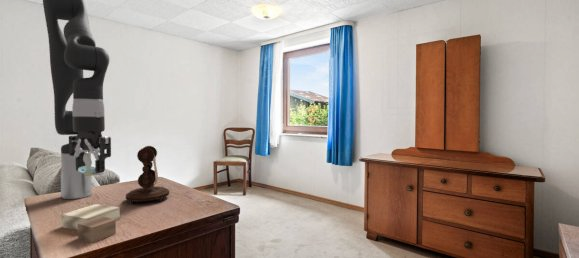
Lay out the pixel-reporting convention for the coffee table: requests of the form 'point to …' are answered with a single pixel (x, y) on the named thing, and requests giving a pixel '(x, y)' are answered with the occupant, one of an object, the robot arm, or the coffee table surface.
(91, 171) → the pacifier
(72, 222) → the ash block
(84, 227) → the walnut block
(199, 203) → the coffee table surface
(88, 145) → the robot arm
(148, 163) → the dark brown sculpture
